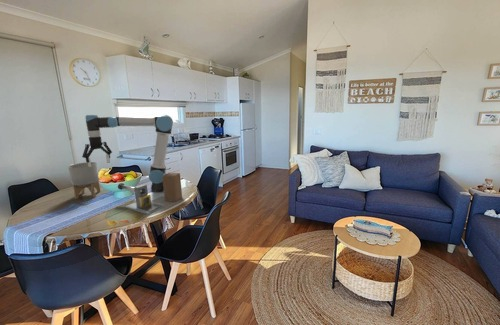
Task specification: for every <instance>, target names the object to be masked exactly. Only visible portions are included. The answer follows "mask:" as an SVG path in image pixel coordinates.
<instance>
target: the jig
mask: <svg viewBox="0 0 500 325" xmlns="http://www.w3.org/2000/svg"><path fill="white" fill-rule="evenodd" d="M133 187H134V190H135V192H134V195H135V202H133V203H131V204H128V205H125V208H126V209H128V210H132V211H135V212H138V213H142V214H145V215H150V214H152V213H154V211H155V212H156V210H157V211H159V210H161V209H163V208H165V205H164V204H160V203H157V202H153V201H151V205H148V206H146V207H144V208H140V201H139V197H141V196H144V195H147V194H149V193H148V192H149V191H148V185H147V184H144V183H142V184H140V185H136V186H133ZM141 189H143V193H141V192H140V190H141ZM143 202H144V204H145V203H148V201H147V198H145V199H143Z"/></svg>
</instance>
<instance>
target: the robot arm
mask: <svg viewBox="0 0 500 325" xmlns="http://www.w3.org/2000/svg"><path fill="white" fill-rule="evenodd" d="M85 123H86V124H85V125H86V128H87V134H88V140H89V144H88V143H85V146H84V150H83V153H82V156H81V158H84V159H85V161H86V162H87V163H88V167H92V166H91V162H92V160H91V158H90V156H92V153H93V151H94V150H98V149H101V151H103V152H104V153H105V159H106V163H108V164H109V163H111V161H110V160H111V154H112V153H113V151H112V150H111V149H110V147H109V146H108V144H107V142H106V141H102V136H101V131H100V130H101V129H103V128H104V129H106V128H107V129H108V128H117V127H154V128H155V133H156V140H155V148H154V153H153V154H154V155H153V161H152V163H151V164H150V168H149V174H148V179H149V181H150V183H151V185H150V186H151V187H150V190H151V192H153V193H161V192H164V187H163V178H162V177H163V176H164V175H166V174H167V171H166V169H167V166H166V156H167V151H168V150H167V149H168V144H169V143H168V142H169V136H170V135H172V130H173V125H174V124H173V118H172V117H171V116H169V115H167V114H162V115H154V116H114V115H113V116H107V117H106V116H105V117H104V116H103V117H98V114H87V115H85ZM104 147H105V148H104Z"/></svg>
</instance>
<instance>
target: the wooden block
mask: <svg viewBox="0 0 500 325" xmlns="http://www.w3.org/2000/svg"><path fill="white" fill-rule="evenodd" d="M162 178H163V187H164V191H163V195H164V201H165V202H178V201H179V200H181V198H183V192H182V190H183V189H182V183H181V173H179V172H167V173H166V175H164V176H163V177H162Z"/></svg>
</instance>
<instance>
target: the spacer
mask: <svg viewBox="0 0 500 325" xmlns="http://www.w3.org/2000/svg"><path fill="white" fill-rule="evenodd" d="M145 198H147V201H148V203H145V204H144V202H143V199H145ZM139 201H140V208H144V207H146V206H148V205H151V202H152V198H151V194H150V193H148V194H147V195H144V196H141V197H139Z"/></svg>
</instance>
